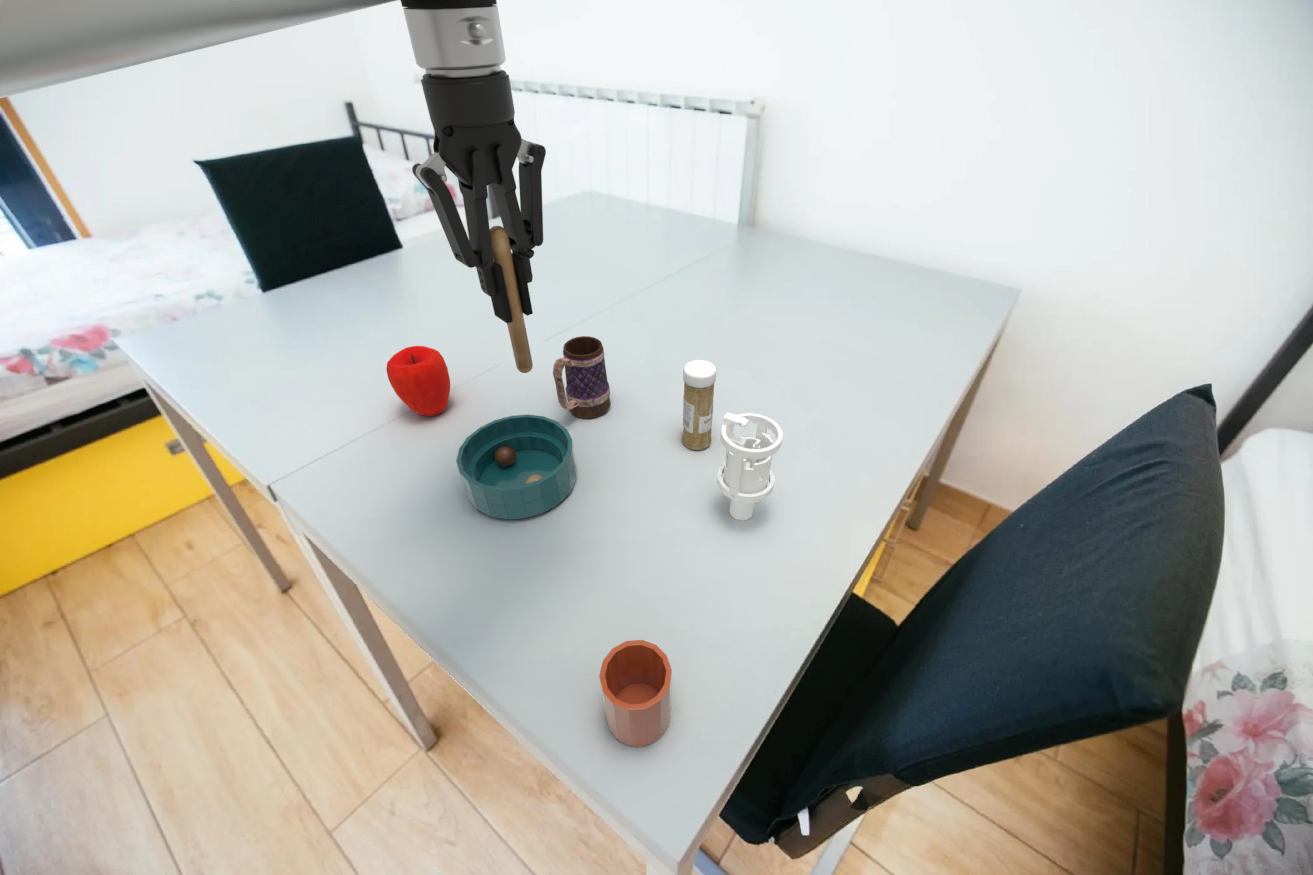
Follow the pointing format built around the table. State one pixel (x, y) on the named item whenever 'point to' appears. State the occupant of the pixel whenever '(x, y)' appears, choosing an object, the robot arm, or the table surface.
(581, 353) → the mug
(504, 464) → the bead
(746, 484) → the white cylindrical cage
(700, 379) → the sprinkles bottle
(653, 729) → the utensil pot
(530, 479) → the bead
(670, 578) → the table surface
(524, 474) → the bowl
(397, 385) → the apple
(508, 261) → the stick
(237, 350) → the table surface
